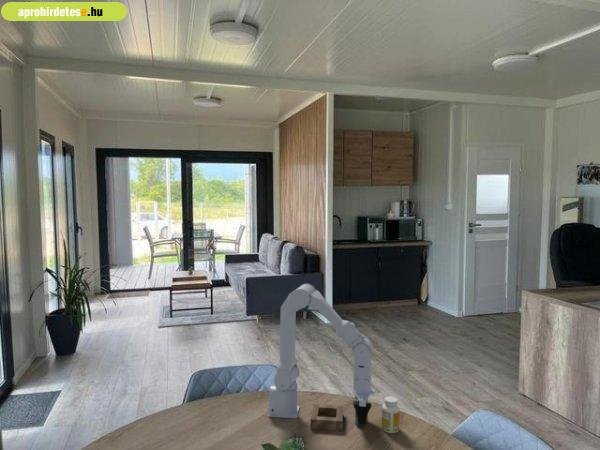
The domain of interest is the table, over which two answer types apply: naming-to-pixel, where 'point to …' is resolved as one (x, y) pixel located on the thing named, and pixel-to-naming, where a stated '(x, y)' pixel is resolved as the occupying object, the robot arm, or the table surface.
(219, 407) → the table surface
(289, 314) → the robot arm
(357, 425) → the grey cylinder
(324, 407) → the socket block
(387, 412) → the supplement bottle
